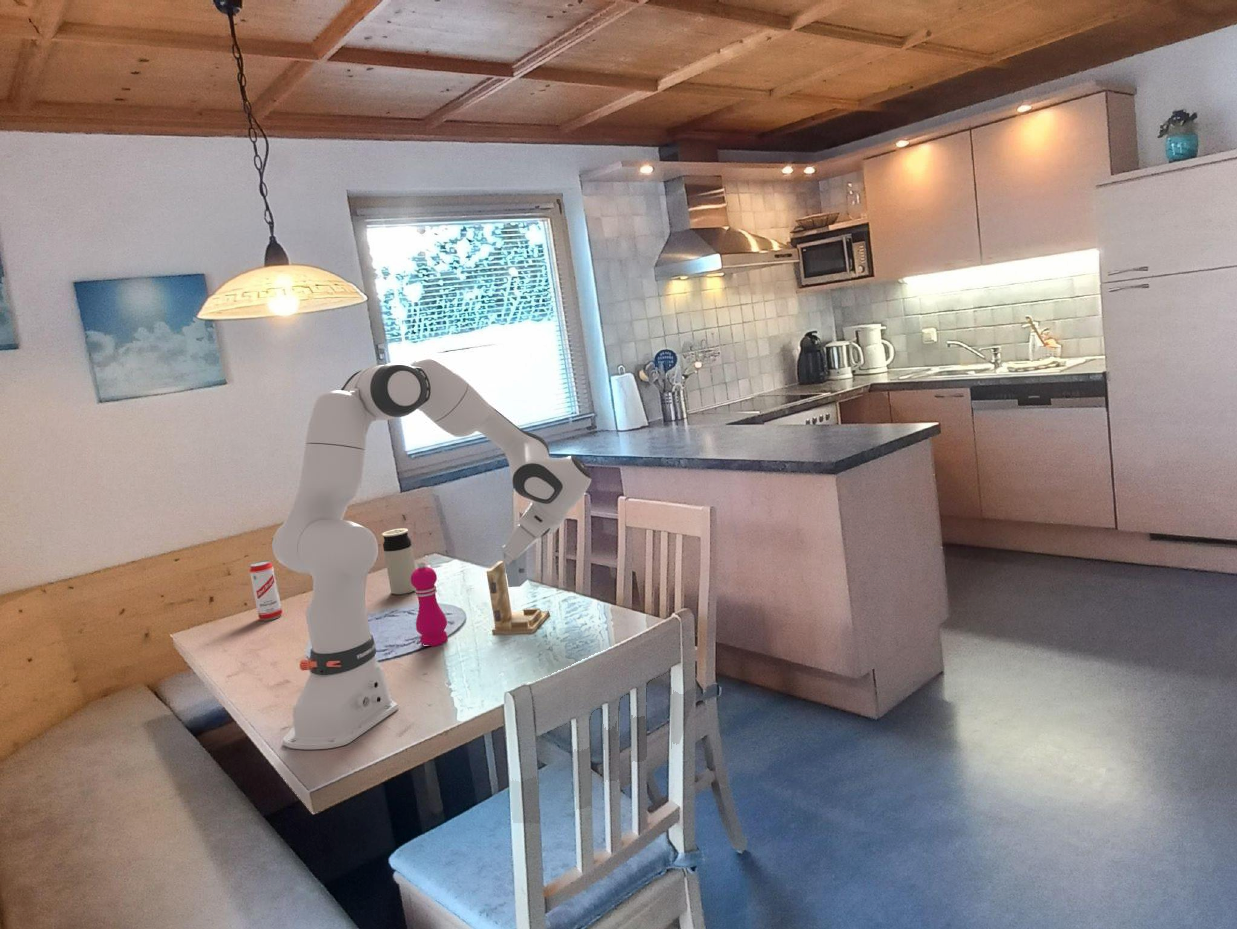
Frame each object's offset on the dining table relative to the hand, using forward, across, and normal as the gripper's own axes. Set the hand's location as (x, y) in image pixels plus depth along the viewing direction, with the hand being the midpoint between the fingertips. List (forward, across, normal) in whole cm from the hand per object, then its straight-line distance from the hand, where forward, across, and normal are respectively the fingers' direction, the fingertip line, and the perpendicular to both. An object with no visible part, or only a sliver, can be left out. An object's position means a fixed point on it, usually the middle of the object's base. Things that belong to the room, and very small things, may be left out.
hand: (511, 558), depth 200 cm
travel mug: (+46, -31, -22) cm, 60 cm away
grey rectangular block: (+4, 0, +5) cm, 6 cm away
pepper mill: (+25, +10, -1) cm, 27 cm away
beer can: (+69, -12, -45) cm, 83 cm away
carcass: (+11, 0, +12) cm, 17 cm away
